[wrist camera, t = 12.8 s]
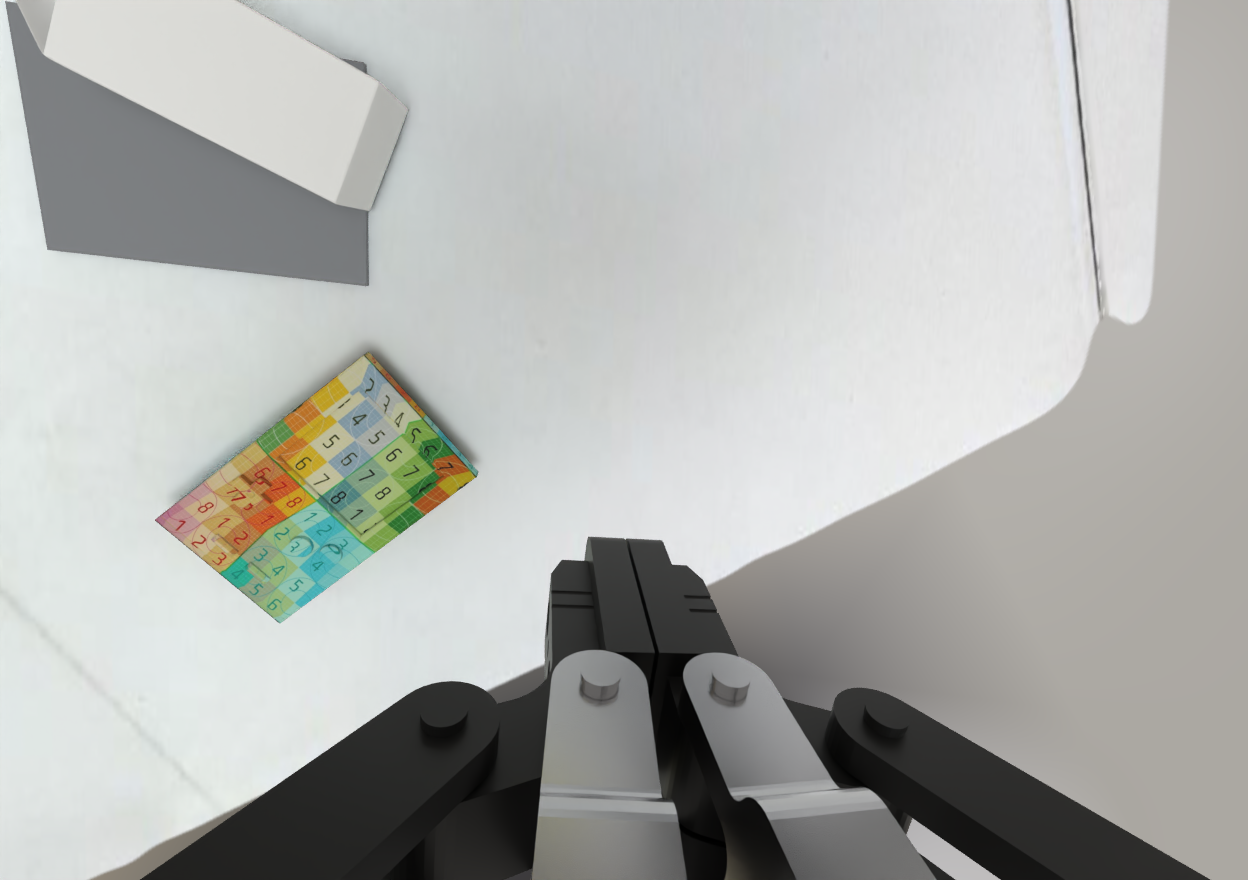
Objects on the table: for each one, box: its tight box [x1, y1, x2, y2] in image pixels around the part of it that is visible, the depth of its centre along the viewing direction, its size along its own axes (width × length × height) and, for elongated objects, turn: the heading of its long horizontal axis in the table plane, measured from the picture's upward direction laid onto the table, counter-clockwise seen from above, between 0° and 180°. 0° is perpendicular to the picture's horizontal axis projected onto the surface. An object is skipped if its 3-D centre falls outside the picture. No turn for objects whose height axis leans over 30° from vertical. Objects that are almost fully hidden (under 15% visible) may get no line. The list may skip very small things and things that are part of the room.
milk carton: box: [16, 0, 408, 211], centre depth 33 cm, size 7×7×19 cm
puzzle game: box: [155, 352, 478, 623], centre depth 44 cm, size 12×5×20 cm
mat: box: [5, 1, 369, 286], centre depth 38 cm, size 14×20×1 cm
